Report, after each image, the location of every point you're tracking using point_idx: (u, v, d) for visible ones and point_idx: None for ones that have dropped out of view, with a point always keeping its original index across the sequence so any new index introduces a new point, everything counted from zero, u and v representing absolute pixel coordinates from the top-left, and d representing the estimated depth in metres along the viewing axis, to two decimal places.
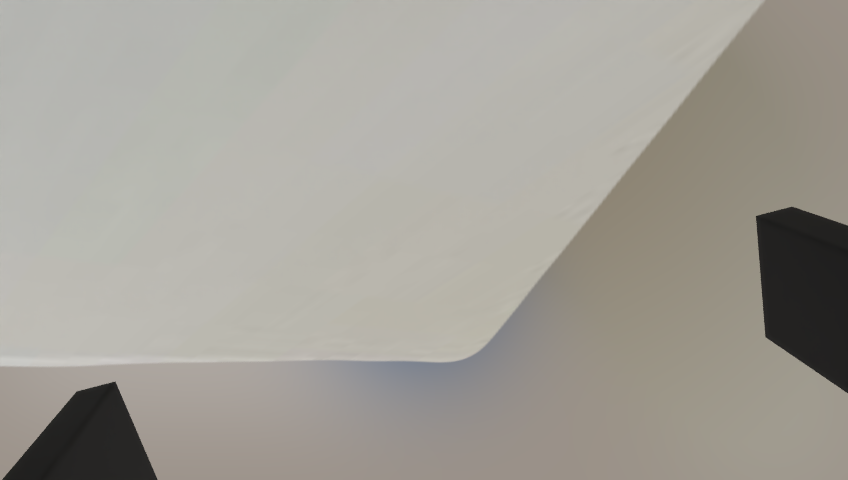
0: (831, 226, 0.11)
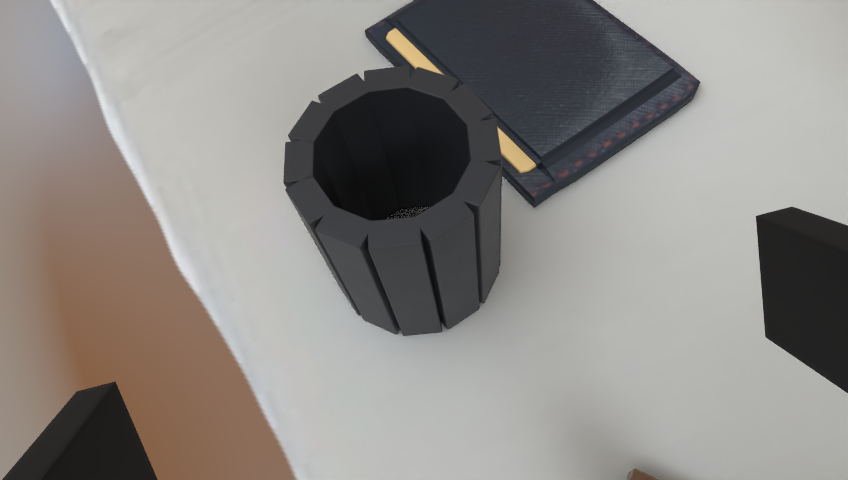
0: (831, 226, 0.11)
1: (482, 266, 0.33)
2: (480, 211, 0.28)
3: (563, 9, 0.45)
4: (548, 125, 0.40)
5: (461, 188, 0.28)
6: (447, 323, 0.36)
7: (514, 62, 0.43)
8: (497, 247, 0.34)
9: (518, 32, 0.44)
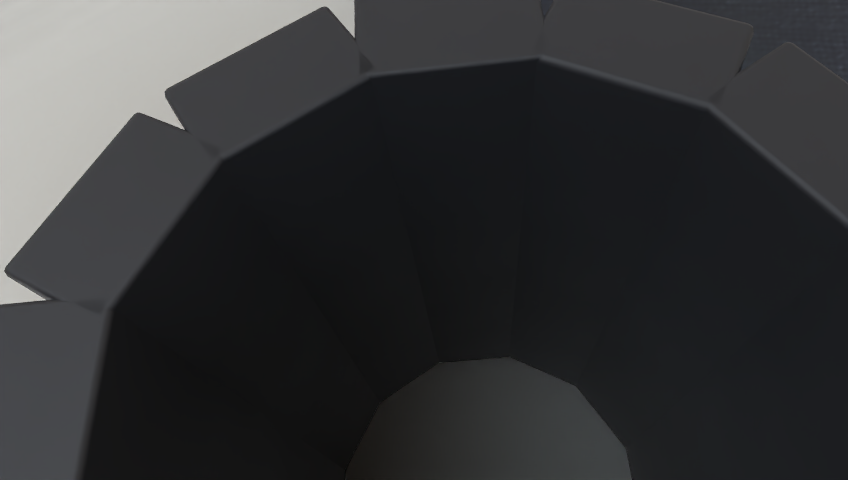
0: None
1: None
2: None
3: None
4: None
5: None
6: None
7: None
8: None
9: None
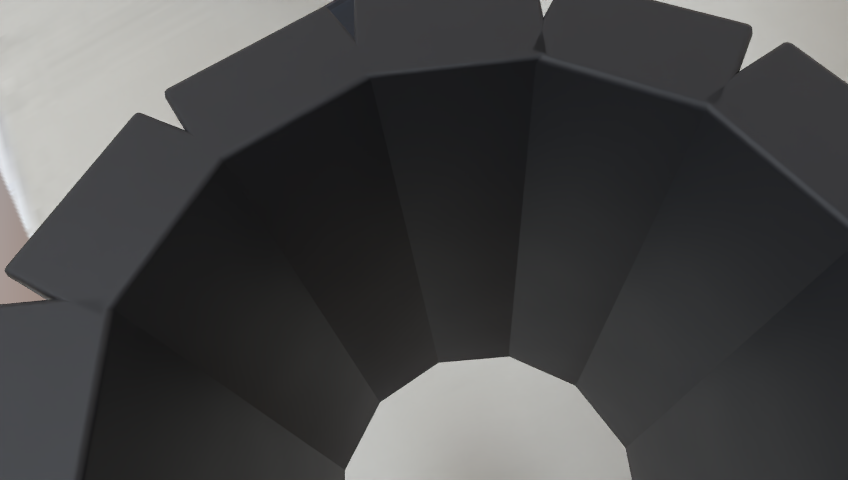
0: None
1: None
2: None
3: None
4: None
5: None
6: None
7: None
8: None
9: None
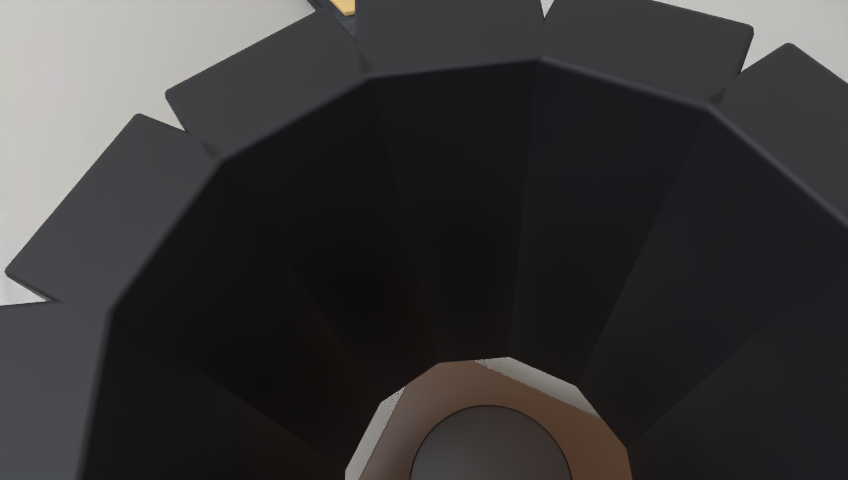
0: None
1: None
2: None
3: None
4: None
5: None
6: None
7: None
8: None
9: None
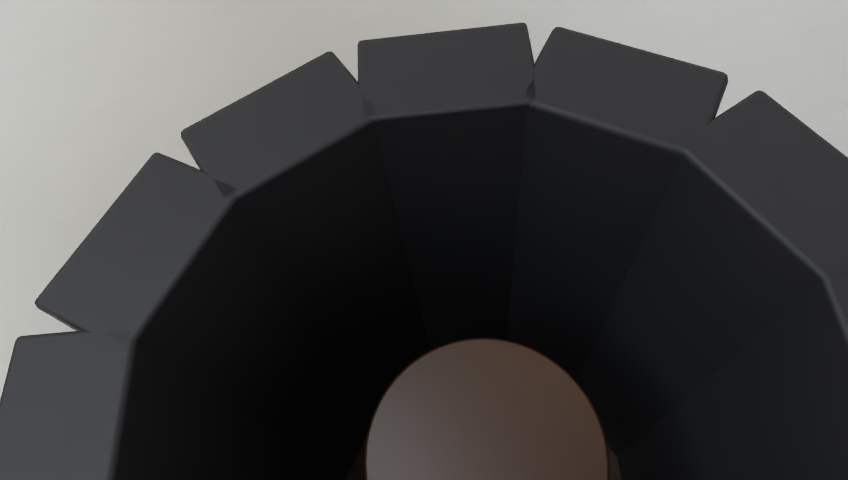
0: None
1: None
2: None
3: None
4: None
5: None
6: None
7: None
8: None
9: None
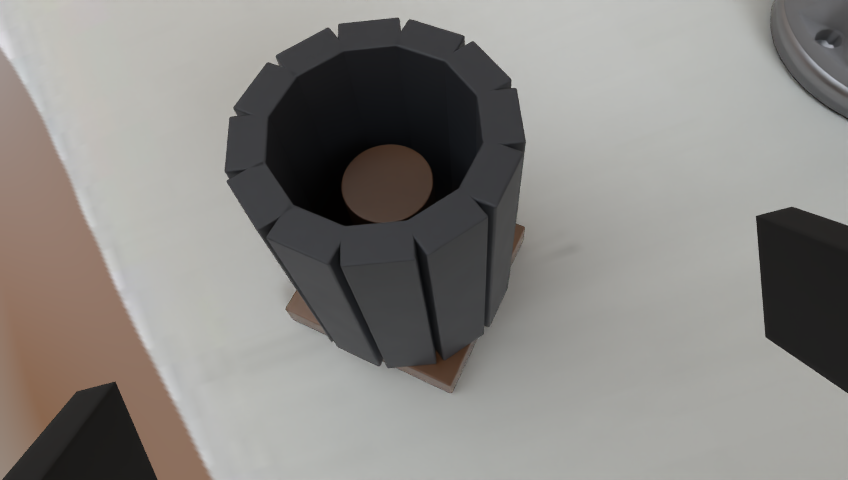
0: (831, 226, 0.11)
1: (492, 284, 0.25)
2: (497, 213, 0.20)
3: None
4: None
5: (470, 181, 0.20)
6: (444, 353, 0.28)
7: None
8: (509, 258, 0.27)
9: None
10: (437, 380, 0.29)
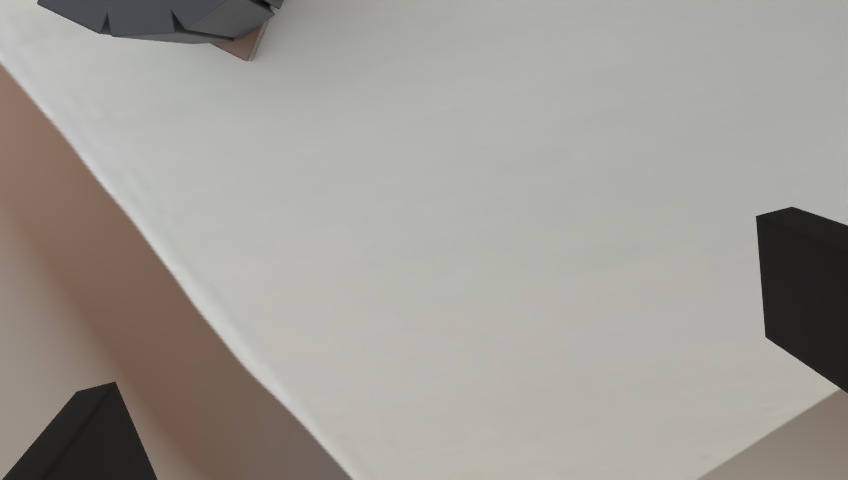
0: (831, 226, 0.11)
1: None
2: None
3: None
4: None
5: None
6: (238, 37, 0.33)
7: None
8: None
9: None
10: (236, 55, 0.34)
